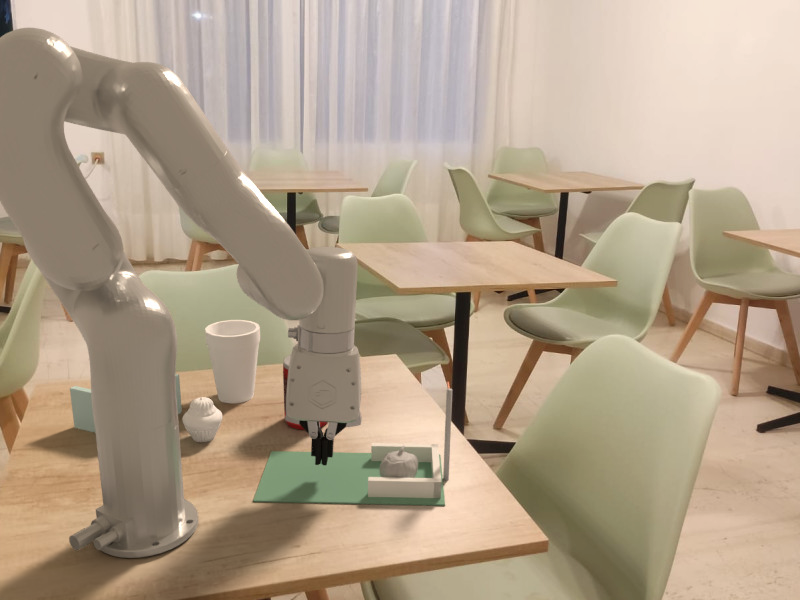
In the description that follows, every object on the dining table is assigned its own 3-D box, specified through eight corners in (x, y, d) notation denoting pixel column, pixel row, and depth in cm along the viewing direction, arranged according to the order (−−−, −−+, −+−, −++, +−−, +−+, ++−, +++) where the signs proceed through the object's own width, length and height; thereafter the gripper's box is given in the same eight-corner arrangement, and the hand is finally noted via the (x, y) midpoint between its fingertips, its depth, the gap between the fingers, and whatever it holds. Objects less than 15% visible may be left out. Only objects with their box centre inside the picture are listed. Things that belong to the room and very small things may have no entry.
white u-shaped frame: (368, 498, 101) (368, 404, 97) (371, 458, 111) (372, 373, 108) (450, 499, 101) (454, 406, 97) (446, 460, 111) (450, 374, 108)
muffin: (183, 431, 119) (180, 392, 117) (221, 427, 121) (219, 387, 119) (184, 449, 113) (181, 407, 111) (225, 444, 115) (223, 403, 113)
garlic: (400, 468, 109) (401, 436, 107) (426, 482, 105) (427, 449, 103) (370, 482, 105) (370, 449, 103) (396, 497, 101) (397, 463, 99)
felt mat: (253, 501, 100) (253, 500, 99) (271, 452, 113) (271, 451, 113) (444, 505, 99) (445, 504, 99) (440, 455, 113) (440, 454, 113)
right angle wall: (182, 414, 126) (179, 374, 124) (133, 444, 116) (129, 401, 113) (126, 402, 131) (123, 363, 128) (74, 430, 120) (69, 388, 118)
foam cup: (221, 384, 138) (217, 318, 134) (268, 387, 137) (266, 321, 133) (201, 405, 129) (196, 335, 125) (251, 409, 128) (248, 338, 124)
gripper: (266, 343, 96) (264, 470, 101) (380, 350, 96) (373, 476, 101) (276, 327, 104) (274, 445, 108) (382, 333, 104) (375, 452, 108)
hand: (321, 460), depth 105 cm, fingers closed
